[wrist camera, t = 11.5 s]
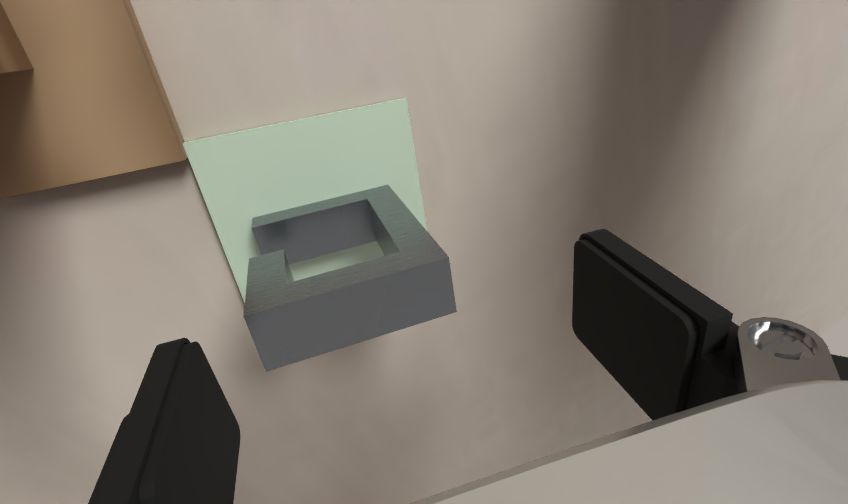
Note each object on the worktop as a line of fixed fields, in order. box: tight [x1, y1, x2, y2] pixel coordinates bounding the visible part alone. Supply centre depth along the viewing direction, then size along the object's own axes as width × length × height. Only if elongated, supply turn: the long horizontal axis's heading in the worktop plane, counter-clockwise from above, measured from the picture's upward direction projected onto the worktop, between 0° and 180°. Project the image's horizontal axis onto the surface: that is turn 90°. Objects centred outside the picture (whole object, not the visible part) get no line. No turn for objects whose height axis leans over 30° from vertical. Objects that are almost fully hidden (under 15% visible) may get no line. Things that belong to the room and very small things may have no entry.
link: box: [244, 185, 457, 371], centre depth 17 cm, size 6×2×8 cm, turn 99°
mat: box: [183, 98, 427, 303], centre depth 21 cm, size 9×9×1 cm
